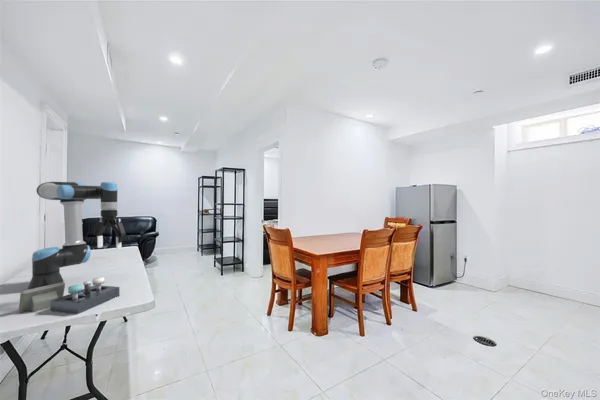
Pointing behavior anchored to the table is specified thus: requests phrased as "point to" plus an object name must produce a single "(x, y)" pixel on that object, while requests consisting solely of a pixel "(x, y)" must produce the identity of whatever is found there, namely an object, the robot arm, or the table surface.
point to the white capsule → (87, 287)
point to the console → (84, 300)
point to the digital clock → (40, 297)
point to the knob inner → (98, 283)
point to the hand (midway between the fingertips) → (109, 247)
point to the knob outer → (75, 291)
